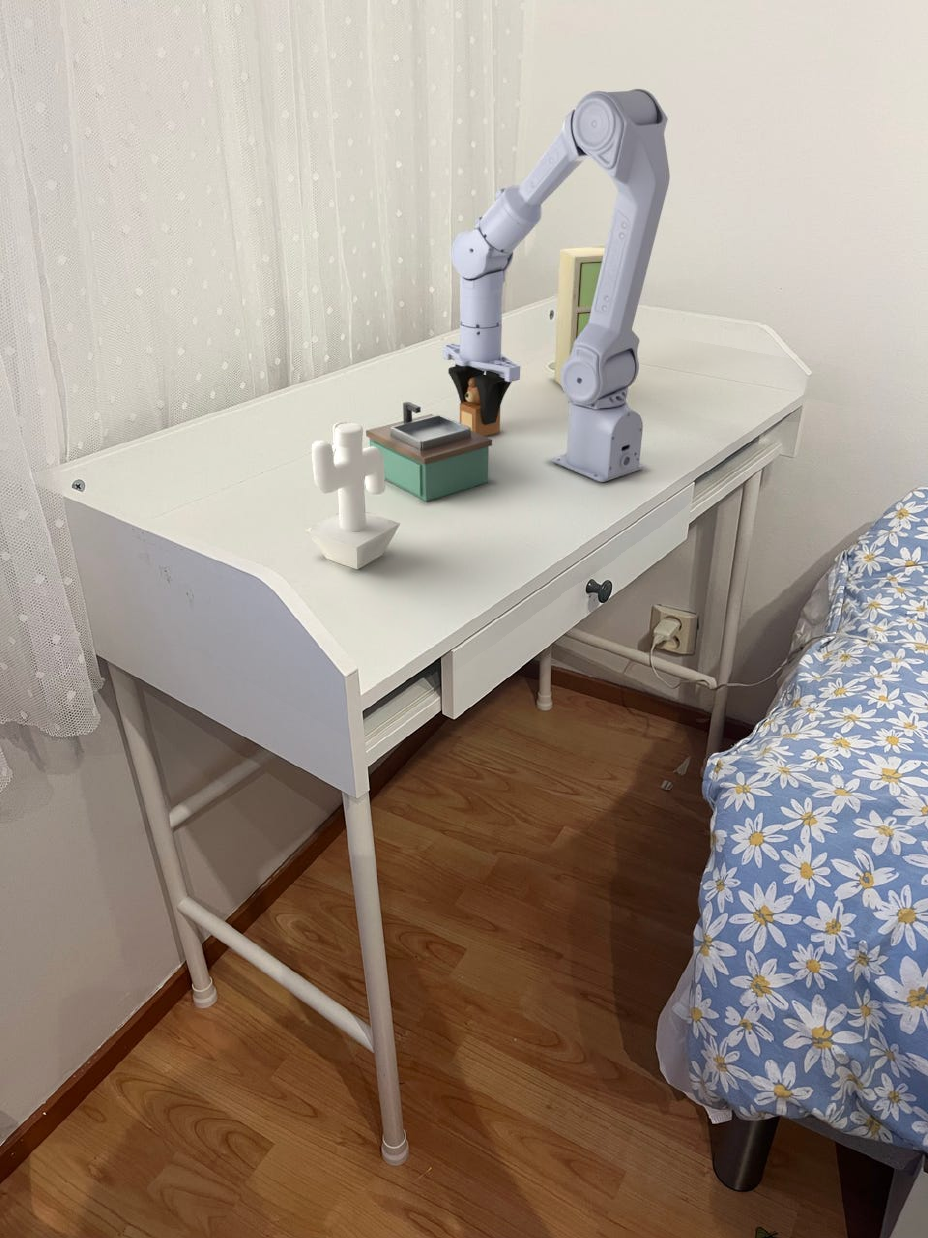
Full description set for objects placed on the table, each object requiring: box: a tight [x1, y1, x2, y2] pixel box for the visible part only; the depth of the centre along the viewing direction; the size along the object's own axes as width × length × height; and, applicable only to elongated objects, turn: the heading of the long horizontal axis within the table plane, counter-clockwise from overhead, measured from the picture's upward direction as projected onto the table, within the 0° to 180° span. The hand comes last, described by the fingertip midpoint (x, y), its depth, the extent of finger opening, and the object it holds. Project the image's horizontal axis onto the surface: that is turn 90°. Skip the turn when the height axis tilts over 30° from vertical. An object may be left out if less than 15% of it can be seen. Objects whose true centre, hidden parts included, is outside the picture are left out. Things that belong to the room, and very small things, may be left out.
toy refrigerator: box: [553, 246, 606, 387], centre depth 155 cm, size 8×7×21 cm
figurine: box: [305, 420, 401, 570], centre depth 103 cm, size 7×9×15 cm
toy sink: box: [365, 401, 493, 502], centre depth 124 cm, size 13×11×9 cm
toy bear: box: [459, 378, 501, 437], centre depth 139 cm, size 4×5×8 cm
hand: (479, 419), depth 140 cm, fingers closed on toy bear, 3 cm apart
